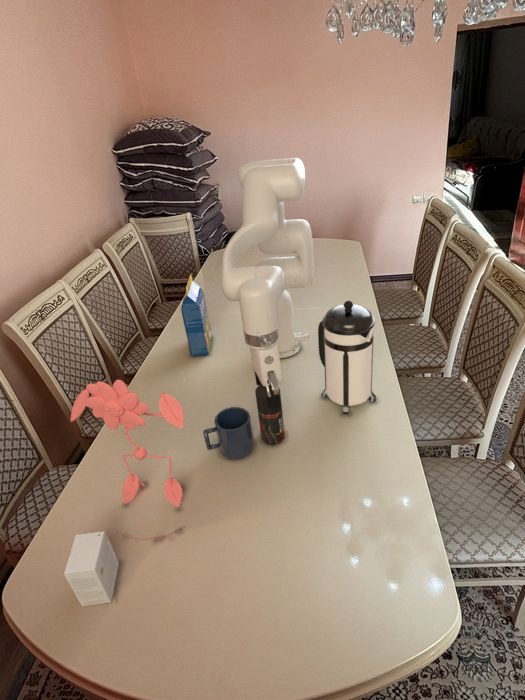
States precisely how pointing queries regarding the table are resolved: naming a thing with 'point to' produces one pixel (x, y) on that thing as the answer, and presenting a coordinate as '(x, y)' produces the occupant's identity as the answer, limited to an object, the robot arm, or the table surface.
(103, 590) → the small box
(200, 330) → the blue food package
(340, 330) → the coffee press
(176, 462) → the table surface
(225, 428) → the mug
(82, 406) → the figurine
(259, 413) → the deodorant
